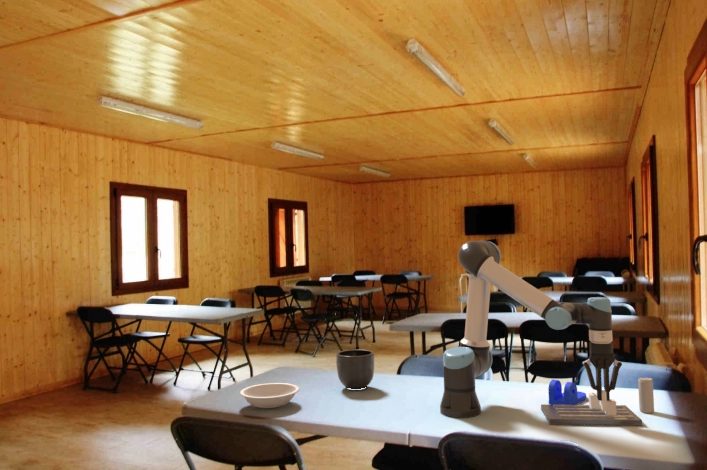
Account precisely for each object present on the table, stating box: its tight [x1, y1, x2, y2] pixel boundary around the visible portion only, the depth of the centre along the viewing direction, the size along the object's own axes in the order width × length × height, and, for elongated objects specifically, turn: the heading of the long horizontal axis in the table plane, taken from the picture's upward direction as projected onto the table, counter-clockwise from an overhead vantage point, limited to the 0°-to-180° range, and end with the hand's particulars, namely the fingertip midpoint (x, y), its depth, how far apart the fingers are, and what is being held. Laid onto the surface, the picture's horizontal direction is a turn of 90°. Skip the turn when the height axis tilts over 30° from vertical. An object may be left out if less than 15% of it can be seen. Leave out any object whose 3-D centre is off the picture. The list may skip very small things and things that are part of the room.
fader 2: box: [605, 398, 617, 415], centre depth 200 cm, size 3×3×5 cm
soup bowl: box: [239, 382, 300, 409], centre depth 233 cm, size 24×24×7 cm
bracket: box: [547, 379, 587, 405], centre depth 226 cm, size 18×8×9 cm, turn 135°
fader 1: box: [588, 392, 600, 409], centre depth 208 cm, size 3×3×5 cm
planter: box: [335, 349, 375, 389], centre depth 257 cm, size 17×17×16 cm
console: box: [540, 404, 643, 427], centre depth 205 cm, size 30×18×3 cm, turn 81°
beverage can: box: [637, 377, 655, 414], centre depth 209 cm, size 5×5×12 cm
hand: (603, 409), depth 200 cm, fingers closed
